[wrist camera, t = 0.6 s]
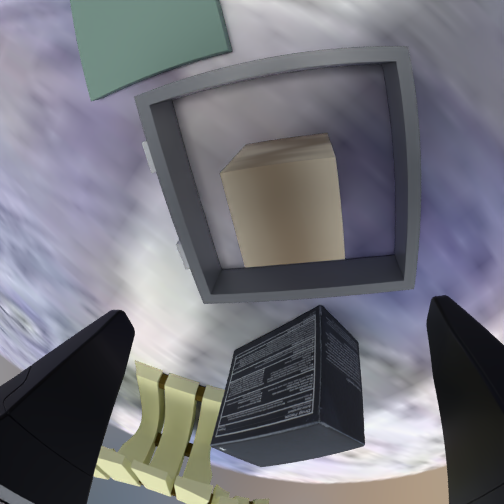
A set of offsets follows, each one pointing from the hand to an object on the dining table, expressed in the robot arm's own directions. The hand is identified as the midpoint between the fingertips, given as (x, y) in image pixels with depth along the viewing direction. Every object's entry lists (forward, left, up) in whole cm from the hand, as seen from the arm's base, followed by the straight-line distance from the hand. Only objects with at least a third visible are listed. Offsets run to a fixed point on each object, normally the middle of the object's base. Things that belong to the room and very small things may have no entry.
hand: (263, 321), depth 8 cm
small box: (+2, +16, -13) cm, 21 cm away
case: (0, 0, -13) cm, 13 cm away
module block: (0, 0, -13) cm, 13 cm away
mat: (+7, -13, -13) cm, 20 cm away
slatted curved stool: (+19, +29, -13) cm, 37 cm away
